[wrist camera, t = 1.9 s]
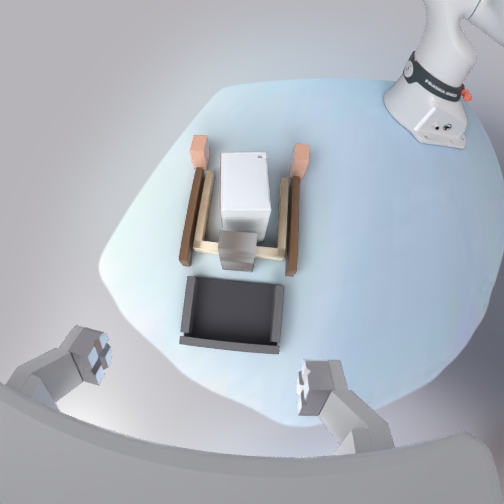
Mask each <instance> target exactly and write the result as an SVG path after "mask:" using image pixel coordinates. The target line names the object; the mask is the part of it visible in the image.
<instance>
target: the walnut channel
mask: <svg viewBox="0 0 504 504" xmlns="http://www.w3.org/2000/svg"><path fill="white" fill-rule="evenodd" d="M204 182H205V175H204V169H203V167H196V171H195V176H194V180H193V185H192V190H191V195H190V200H189V205H188V210H187V215H186V220H185V226H184V231H183V237H182V242H181V248H180V254H179V261H180V262H181V263H182V265H183V266H190V263H191V256H192V250H193V244H194V238H195V231H196V226H197V220H198V214H199V208H200V203H201V197H202V192H203V187H204ZM299 192H300V176H293V177H292V180H291V184H290V194H289V218H288V239H287V257H286V274H285V276H293V275H294V274H295V273H296V271H297V255H298V230H299Z"/></svg>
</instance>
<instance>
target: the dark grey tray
mask: <svg viewBox="0 0 504 504" xmlns="http://www.w3.org/2000/svg"><path fill="white" fill-rule="evenodd" d="M283 294H284V286H283V285H268V284H257V283H247V282H237V281H227V280H217V279H208V278H198V277H192V276H188V277H187V285H186V292H185V299H184V307H183V315H182V323H181V332H184V336H180V341H179V344H184V345H191V346H198V347H206V348H214V349H223V350H232V351H242V352H254V353H266V354H279V346H277V342H280V334H281V321H282V308H283Z"/></svg>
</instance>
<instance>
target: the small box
mask: <svg viewBox="0 0 504 504" xmlns="http://www.w3.org/2000/svg"><path fill="white" fill-rule="evenodd" d="M271 210H272V208H271V201H270V191H269V179H268V166H267V152H227V153H221V160H220V213H221V220H222V226H223V230H225V231H236V232H246V233H256V234H257V242H263V241H264V238H265V234H266V230H267V226H268V222H269V218H270V214H271Z"/></svg>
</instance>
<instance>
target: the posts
mask: <svg viewBox="0 0 504 504" xmlns="http://www.w3.org/2000/svg"><path fill="white" fill-rule="evenodd" d="M190 153H191V157H192V162H193V166H194V169H196V167H203V169H204V170H207V166H208V162H209V157H210V152H209V145H208V138H207V135H194V137H193V141H192V144H191V148H190ZM308 163H309V145H304V144H295V147H294V151H293V155H292V159H291V163H290V178H292V177H293V176H300V179H303V177H304V174H305V172H306V169H307V166H308Z"/></svg>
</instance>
